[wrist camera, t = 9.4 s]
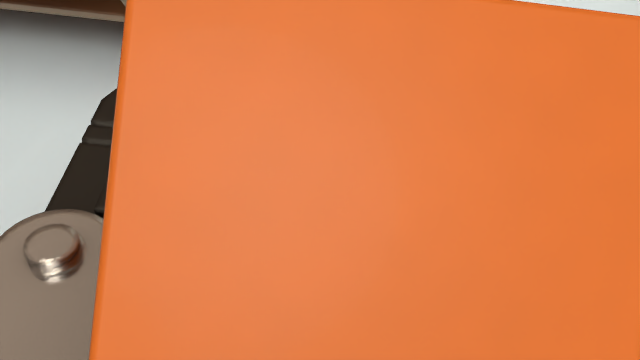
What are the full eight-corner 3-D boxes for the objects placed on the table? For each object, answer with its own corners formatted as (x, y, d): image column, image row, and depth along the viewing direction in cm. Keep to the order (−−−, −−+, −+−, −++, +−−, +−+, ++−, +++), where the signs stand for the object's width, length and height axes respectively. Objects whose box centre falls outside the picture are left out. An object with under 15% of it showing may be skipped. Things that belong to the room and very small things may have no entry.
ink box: (207, 301, 13) (66, 539, 4) (224, 121, 14) (129, -59, 4) (384, 314, 14) (634, 554, 4) (398, 138, 14) (665, 11, 5)
